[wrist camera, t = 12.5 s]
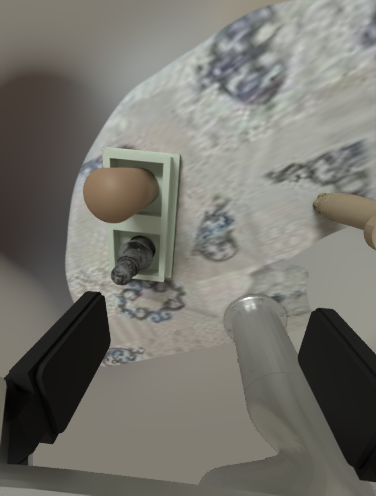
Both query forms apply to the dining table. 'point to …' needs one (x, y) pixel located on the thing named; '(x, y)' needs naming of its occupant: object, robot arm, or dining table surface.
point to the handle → (350, 212)
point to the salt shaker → (133, 259)
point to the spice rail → (149, 215)
